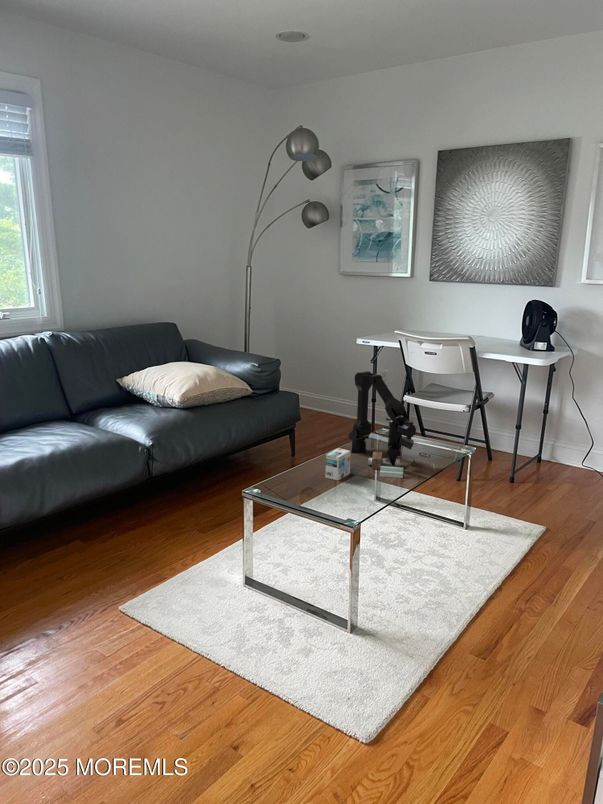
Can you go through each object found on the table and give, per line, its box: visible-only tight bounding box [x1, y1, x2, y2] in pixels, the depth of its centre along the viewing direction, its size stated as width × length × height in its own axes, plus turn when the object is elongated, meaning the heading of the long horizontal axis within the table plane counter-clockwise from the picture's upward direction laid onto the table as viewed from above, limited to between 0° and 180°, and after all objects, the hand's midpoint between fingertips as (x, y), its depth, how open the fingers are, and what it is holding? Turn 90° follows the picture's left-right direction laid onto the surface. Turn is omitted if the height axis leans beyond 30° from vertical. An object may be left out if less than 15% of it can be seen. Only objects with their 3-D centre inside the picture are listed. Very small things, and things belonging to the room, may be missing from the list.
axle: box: [367, 456, 401, 467], centre depth 279 cm, size 14×4×4 cm, turn 79°
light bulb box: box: [325, 447, 352, 481], centre depth 266 cm, size 11×7×11 cm, turn 146°
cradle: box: [379, 466, 404, 479], centre depth 270 cm, size 10×8×2 cm
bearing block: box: [371, 451, 383, 470], centre depth 279 cm, size 4×10×5 cm, turn 170°
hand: (393, 464), depth 278 cm, fingers closed on axle, 3 cm apart
